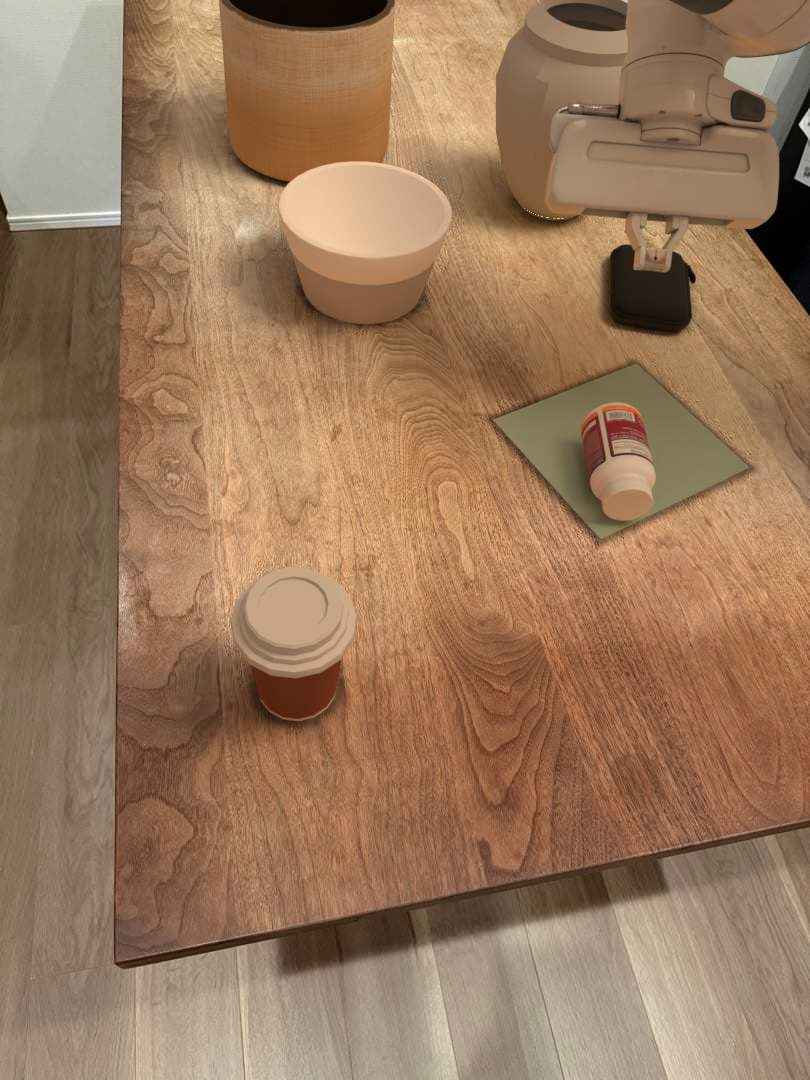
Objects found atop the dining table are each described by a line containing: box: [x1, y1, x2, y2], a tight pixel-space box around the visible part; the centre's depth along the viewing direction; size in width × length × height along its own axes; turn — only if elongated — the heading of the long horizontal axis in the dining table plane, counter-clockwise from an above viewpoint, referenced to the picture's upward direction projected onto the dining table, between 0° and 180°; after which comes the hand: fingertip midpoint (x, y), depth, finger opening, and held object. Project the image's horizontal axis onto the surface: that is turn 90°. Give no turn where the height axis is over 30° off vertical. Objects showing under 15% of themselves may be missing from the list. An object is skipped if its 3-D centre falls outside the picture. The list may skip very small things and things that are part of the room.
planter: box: [218, 0, 396, 184], centre depth 116 cm, size 22×22×20 cm
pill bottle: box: [581, 402, 656, 521], centre depth 85 cm, size 6×6×11 cm
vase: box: [495, 0, 628, 221], centre depth 109 cm, size 20×20×24 cm
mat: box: [492, 363, 750, 540], centre depth 91 cm, size 20×18×1 cm
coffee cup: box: [230, 565, 358, 722], centre depth 67 cm, size 9×9×12 cm
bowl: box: [277, 161, 453, 325], centre depth 100 cm, size 19×19×11 cm
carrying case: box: [608, 243, 697, 333], centre depth 106 cm, size 11×3×15 cm
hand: (651, 270), depth 79 cm, fingers closed
